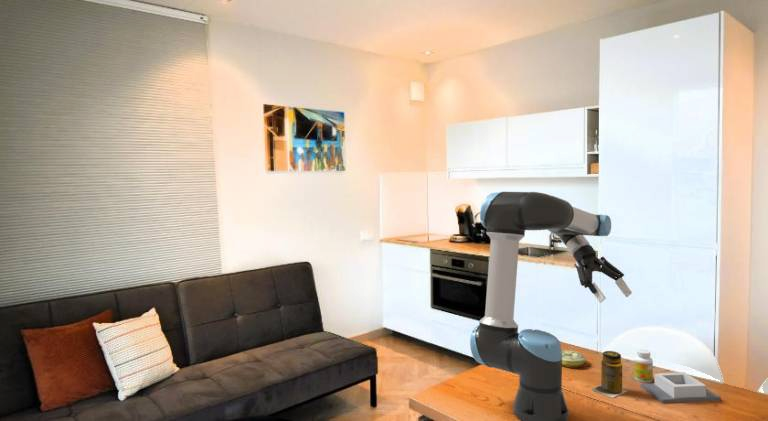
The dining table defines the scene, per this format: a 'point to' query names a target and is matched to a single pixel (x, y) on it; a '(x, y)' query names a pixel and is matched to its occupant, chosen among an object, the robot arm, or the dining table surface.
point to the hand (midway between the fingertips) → (616, 297)
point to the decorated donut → (572, 359)
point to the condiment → (611, 375)
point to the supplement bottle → (643, 366)
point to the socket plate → (679, 389)
